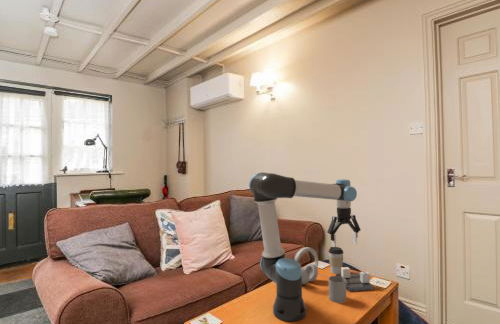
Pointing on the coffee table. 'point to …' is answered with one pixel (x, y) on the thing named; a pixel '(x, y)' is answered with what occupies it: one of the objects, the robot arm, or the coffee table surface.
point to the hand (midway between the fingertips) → (344, 245)
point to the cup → (337, 289)
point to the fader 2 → (364, 277)
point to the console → (356, 283)
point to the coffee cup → (336, 259)
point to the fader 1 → (345, 272)
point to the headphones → (308, 266)
